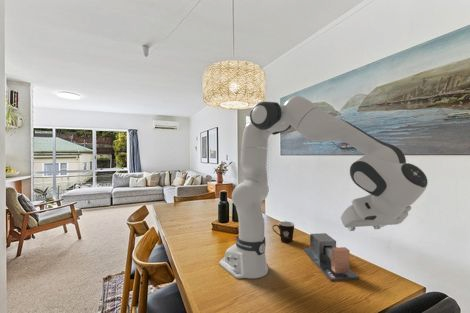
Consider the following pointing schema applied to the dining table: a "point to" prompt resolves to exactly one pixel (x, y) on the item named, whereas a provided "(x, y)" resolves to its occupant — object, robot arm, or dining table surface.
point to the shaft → (338, 258)
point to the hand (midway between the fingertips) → (362, 228)
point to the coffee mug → (285, 231)
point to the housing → (326, 257)
